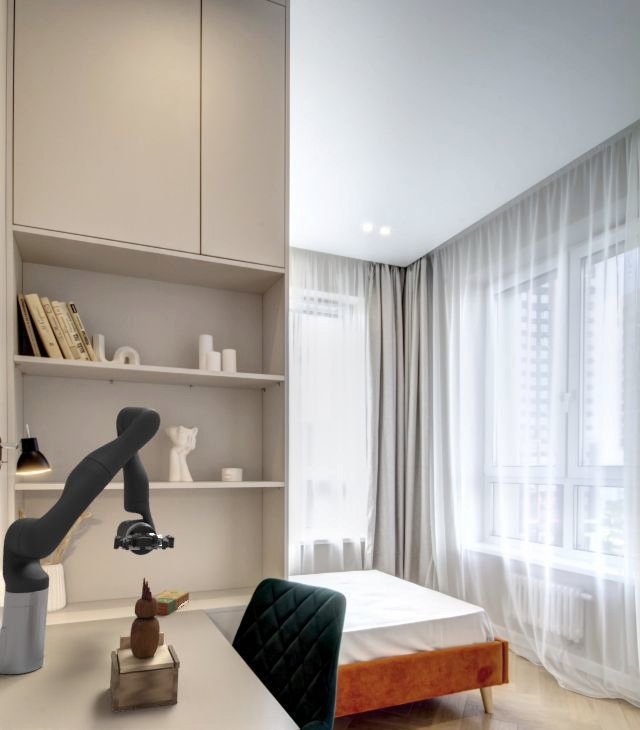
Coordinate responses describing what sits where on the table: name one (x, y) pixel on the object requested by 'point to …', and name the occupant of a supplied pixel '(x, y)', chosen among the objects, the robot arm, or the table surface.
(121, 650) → the lid
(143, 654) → the wooden figurine
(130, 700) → the light wooden box
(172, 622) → the table surface
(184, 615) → the table surface
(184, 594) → the carton
